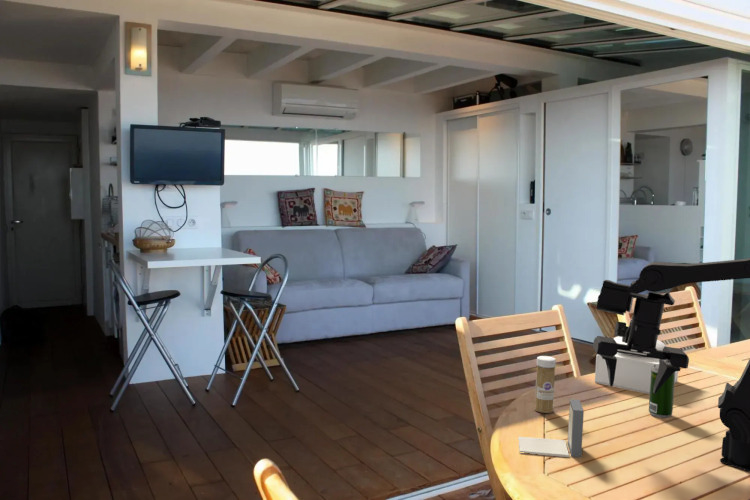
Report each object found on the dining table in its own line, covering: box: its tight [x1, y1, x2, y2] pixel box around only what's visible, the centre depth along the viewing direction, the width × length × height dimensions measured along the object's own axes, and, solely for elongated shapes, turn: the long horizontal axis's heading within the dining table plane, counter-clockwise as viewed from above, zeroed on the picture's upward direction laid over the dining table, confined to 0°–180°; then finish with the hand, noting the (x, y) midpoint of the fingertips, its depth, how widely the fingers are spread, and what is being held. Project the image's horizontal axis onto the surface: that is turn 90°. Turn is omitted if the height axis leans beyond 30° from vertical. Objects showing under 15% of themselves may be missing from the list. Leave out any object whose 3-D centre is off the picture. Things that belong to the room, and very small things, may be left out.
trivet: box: [517, 436, 570, 458], centre depth 145 cm, size 10×8×1 cm
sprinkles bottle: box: [534, 355, 557, 414], centre depth 167 cm, size 5×5×13 cm
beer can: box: [648, 364, 676, 419], centre depth 166 cm, size 5×5×12 cm
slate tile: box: [567, 398, 585, 458], centre depth 143 cm, size 2×7×10 cm, turn 170°
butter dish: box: [594, 336, 679, 395], centre depth 192 cm, size 18×18×16 cm
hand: (632, 389), depth 147 cm, fingers open, 9 cm apart
